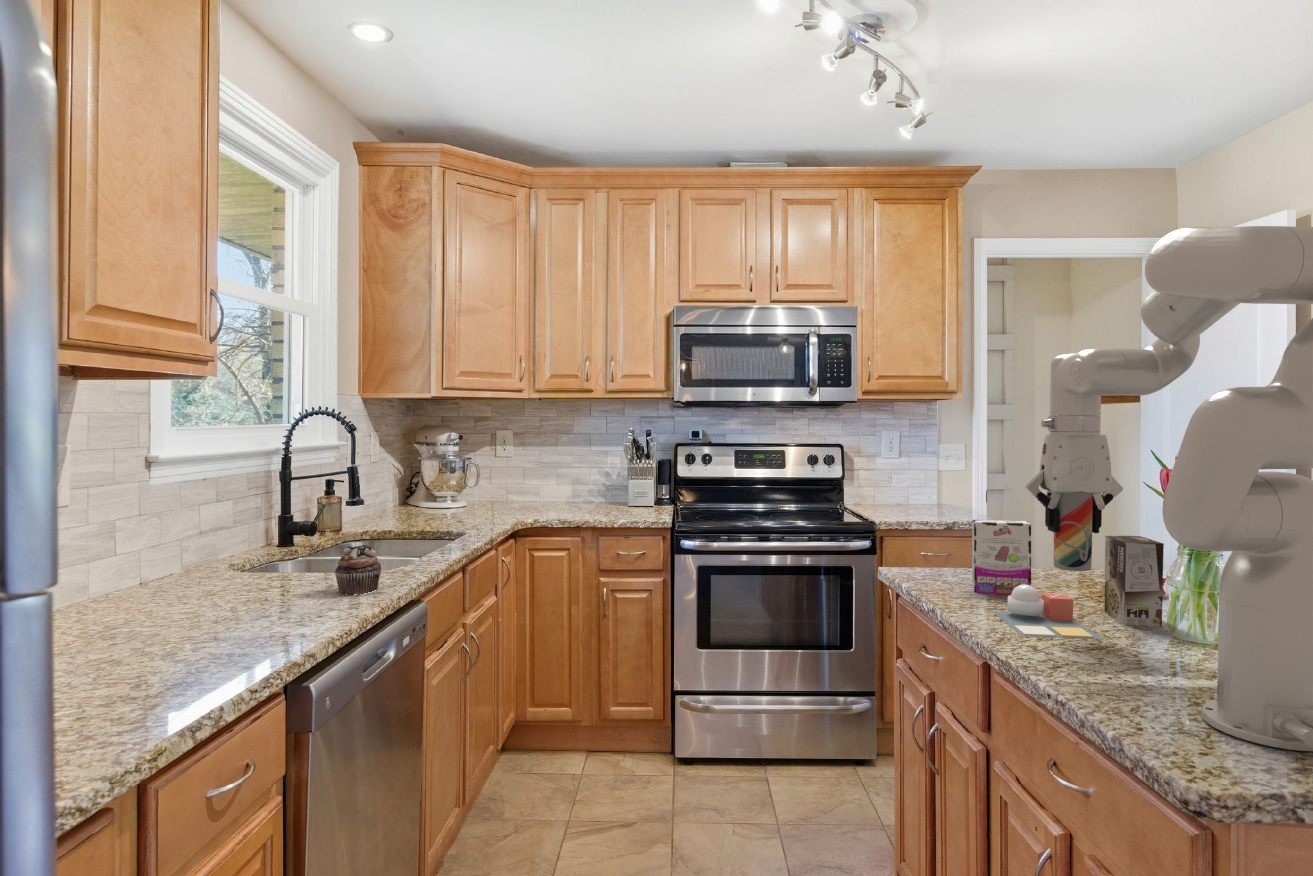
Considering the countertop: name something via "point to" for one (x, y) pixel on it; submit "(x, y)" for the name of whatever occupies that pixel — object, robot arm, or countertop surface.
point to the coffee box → (1134, 580)
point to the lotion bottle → (1074, 532)
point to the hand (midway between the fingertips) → (1072, 530)
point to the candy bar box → (1000, 555)
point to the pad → (1071, 632)
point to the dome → (1025, 601)
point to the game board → (1046, 618)
